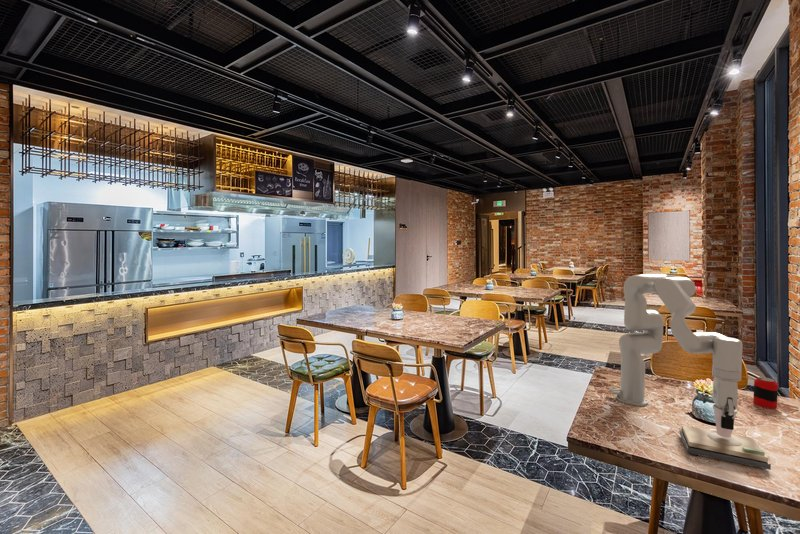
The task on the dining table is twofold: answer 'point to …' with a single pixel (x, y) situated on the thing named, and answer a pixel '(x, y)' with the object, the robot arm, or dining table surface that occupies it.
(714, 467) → the dining table surface
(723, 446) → the stand top
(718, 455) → the stand base
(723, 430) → the smoothie
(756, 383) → the soda can
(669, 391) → the dining table surface
